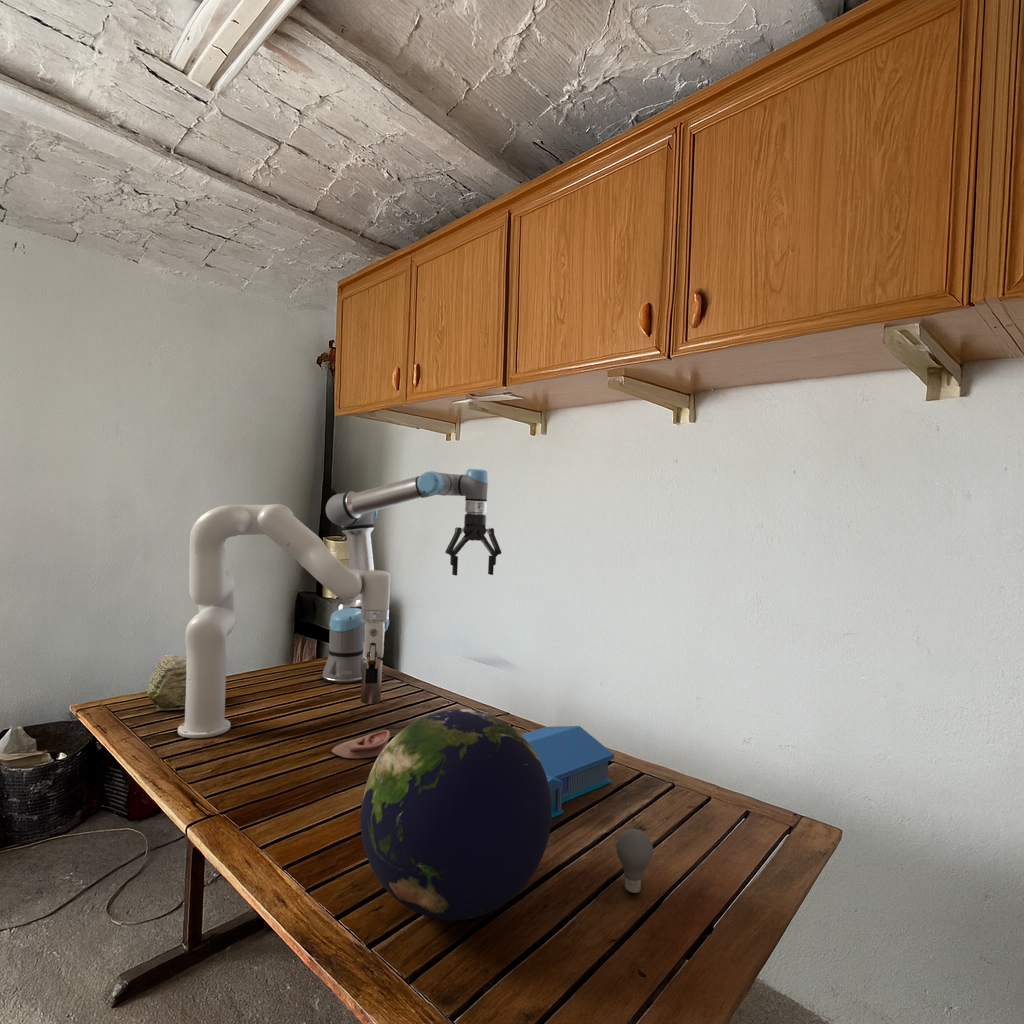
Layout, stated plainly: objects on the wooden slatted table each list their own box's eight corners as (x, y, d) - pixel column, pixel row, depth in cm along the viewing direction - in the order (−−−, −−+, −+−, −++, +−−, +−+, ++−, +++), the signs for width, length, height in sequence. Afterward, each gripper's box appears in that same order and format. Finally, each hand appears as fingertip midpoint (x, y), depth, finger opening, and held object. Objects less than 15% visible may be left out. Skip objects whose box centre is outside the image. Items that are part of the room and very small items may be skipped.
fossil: (144, 707, 182) (145, 655, 182) (212, 696, 194) (213, 647, 194) (151, 716, 175) (153, 662, 175) (221, 703, 188) (223, 653, 188)
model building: (492, 844, 118) (494, 791, 118) (418, 795, 136) (419, 748, 136) (622, 787, 144) (624, 743, 144) (546, 752, 162) (547, 713, 162)
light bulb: (610, 879, 108) (613, 822, 108) (644, 879, 109) (647, 822, 109) (619, 902, 102) (622, 840, 102) (655, 901, 103) (658, 840, 103)
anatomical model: (326, 739, 154) (347, 723, 165) (325, 755, 154) (346, 738, 166) (377, 746, 152) (395, 729, 163) (376, 762, 152) (394, 744, 163)
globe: (314, 931, 92) (322, 727, 92) (419, 834, 120) (426, 677, 120) (503, 1000, 81) (513, 769, 81) (570, 876, 109) (578, 703, 108)
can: (363, 704, 173) (365, 664, 173) (358, 698, 178) (360, 659, 177) (382, 703, 175) (384, 662, 175) (377, 697, 180) (379, 658, 180)
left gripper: (388, 621, 168) (384, 689, 169) (388, 610, 185) (385, 671, 185) (359, 620, 167) (355, 689, 167) (362, 609, 184) (359, 671, 184)
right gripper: (445, 513, 211) (443, 576, 211) (512, 515, 222) (509, 575, 222) (437, 512, 217) (435, 573, 218) (502, 514, 229) (500, 572, 229)
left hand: (371, 679), depth 176 cm, fingers closed on can, 5 cm apart
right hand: (472, 574), depth 220 cm, fingers open, 13 cm apart
